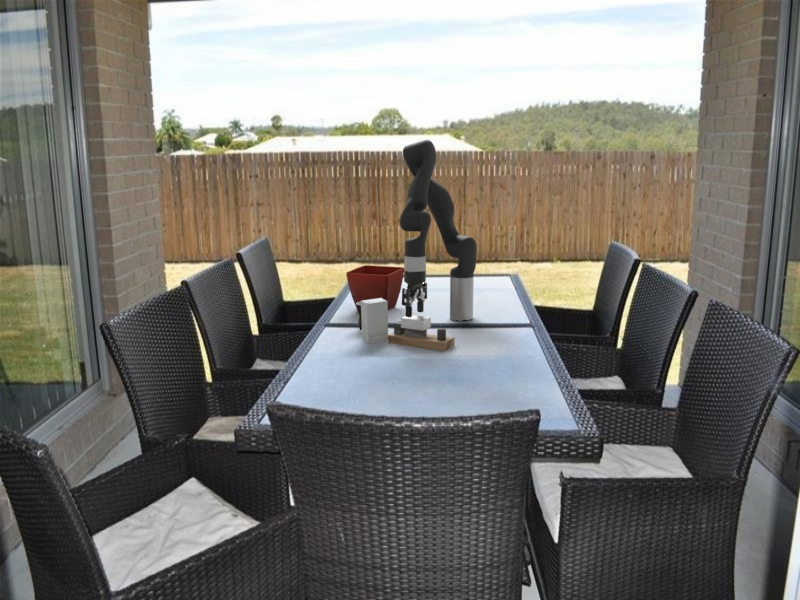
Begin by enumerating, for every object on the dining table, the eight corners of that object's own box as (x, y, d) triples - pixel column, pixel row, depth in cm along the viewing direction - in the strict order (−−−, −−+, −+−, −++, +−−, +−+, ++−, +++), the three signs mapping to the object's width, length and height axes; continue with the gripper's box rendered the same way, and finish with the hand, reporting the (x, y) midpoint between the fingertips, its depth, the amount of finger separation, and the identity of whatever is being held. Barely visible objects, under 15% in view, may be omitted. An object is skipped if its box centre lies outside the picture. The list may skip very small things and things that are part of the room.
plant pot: (345, 311, 311) (345, 272, 307) (365, 302, 328) (364, 264, 324) (388, 315, 304) (387, 275, 300) (405, 305, 321) (405, 267, 317)
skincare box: (382, 337, 272) (381, 297, 269) (389, 341, 267) (388, 300, 263) (360, 339, 268) (360, 299, 265) (367, 344, 263) (366, 302, 260)
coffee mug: (376, 332, 278) (376, 306, 276) (354, 331, 280) (353, 305, 278) (383, 324, 289) (383, 299, 287) (361, 323, 291) (361, 298, 289)
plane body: (399, 337, 271) (398, 319, 269) (454, 345, 260) (454, 326, 259) (388, 343, 264) (387, 324, 262) (444, 351, 253) (444, 331, 252)
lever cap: (408, 324, 266) (408, 314, 265) (430, 327, 262) (430, 317, 261) (400, 327, 261) (400, 317, 261) (423, 330, 257) (423, 320, 256)
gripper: (415, 264, 265) (414, 309, 269) (395, 270, 253) (395, 317, 256) (434, 266, 262) (433, 311, 265) (414, 272, 249) (414, 320, 253)
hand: (414, 314), depth 261 cm, fingers open, 8 cm apart
